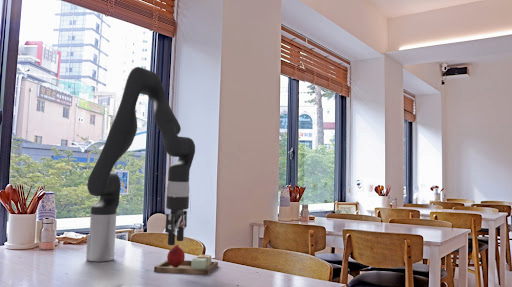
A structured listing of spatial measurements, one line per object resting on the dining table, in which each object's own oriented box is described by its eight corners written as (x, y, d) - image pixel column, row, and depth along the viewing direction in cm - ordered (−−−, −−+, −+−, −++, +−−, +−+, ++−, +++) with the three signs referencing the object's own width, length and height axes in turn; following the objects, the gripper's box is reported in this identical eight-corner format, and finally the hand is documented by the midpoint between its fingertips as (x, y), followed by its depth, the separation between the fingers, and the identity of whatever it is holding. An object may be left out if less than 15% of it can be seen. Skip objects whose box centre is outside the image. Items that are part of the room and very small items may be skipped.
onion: (180, 270, 143) (181, 245, 144) (164, 269, 144) (165, 244, 145) (186, 266, 149) (187, 243, 149) (170, 265, 150) (171, 242, 150)
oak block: (196, 268, 146) (196, 256, 146) (199, 266, 150) (200, 254, 150) (208, 269, 145) (208, 257, 146) (211, 266, 149) (211, 255, 150)
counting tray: (153, 276, 141) (154, 266, 141) (168, 267, 153) (168, 259, 154) (207, 279, 138) (207, 270, 138) (217, 270, 150) (217, 262, 151)
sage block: (191, 272, 140) (191, 260, 140) (194, 270, 144) (195, 257, 144) (202, 273, 140) (203, 260, 140) (206, 270, 143) (206, 258, 144)
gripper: (174, 193, 155) (172, 239, 154) (159, 195, 141) (157, 245, 140) (194, 194, 154) (192, 240, 153) (181, 196, 140) (179, 247, 139)
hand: (175, 243), depth 147 cm, fingers open, 8 cm apart
